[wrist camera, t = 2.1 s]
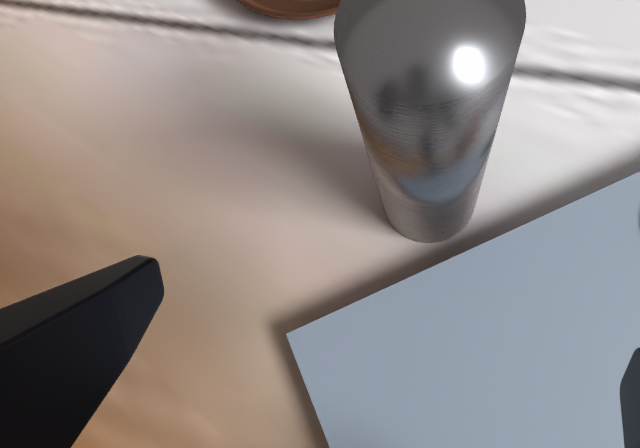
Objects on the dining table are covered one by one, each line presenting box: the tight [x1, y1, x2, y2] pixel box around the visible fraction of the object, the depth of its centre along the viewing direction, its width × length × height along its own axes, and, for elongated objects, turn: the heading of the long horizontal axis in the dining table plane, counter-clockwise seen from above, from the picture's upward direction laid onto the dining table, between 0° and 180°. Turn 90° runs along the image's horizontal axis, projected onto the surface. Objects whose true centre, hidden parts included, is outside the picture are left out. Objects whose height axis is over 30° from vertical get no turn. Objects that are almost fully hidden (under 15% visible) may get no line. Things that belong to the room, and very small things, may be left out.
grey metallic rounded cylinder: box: [334, 0, 526, 243], centre depth 17 cm, size 4×4×12 cm
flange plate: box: [286, 172, 640, 448], centre depth 16 cm, size 19×14×6 cm
